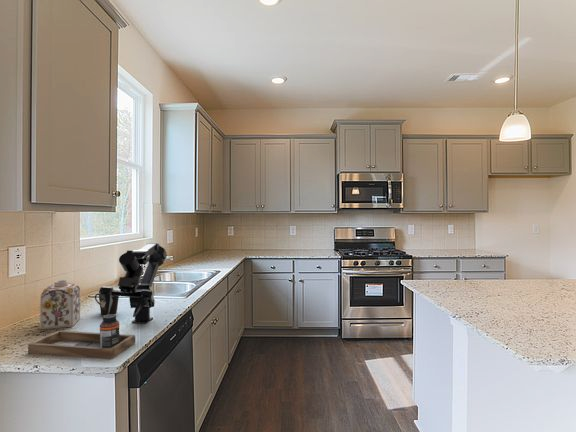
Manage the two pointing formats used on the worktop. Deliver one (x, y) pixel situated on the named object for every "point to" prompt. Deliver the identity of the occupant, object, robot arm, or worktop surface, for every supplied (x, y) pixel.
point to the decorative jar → (60, 305)
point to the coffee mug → (103, 304)
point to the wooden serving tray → (79, 345)
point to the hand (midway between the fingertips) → (120, 315)
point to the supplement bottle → (109, 331)
